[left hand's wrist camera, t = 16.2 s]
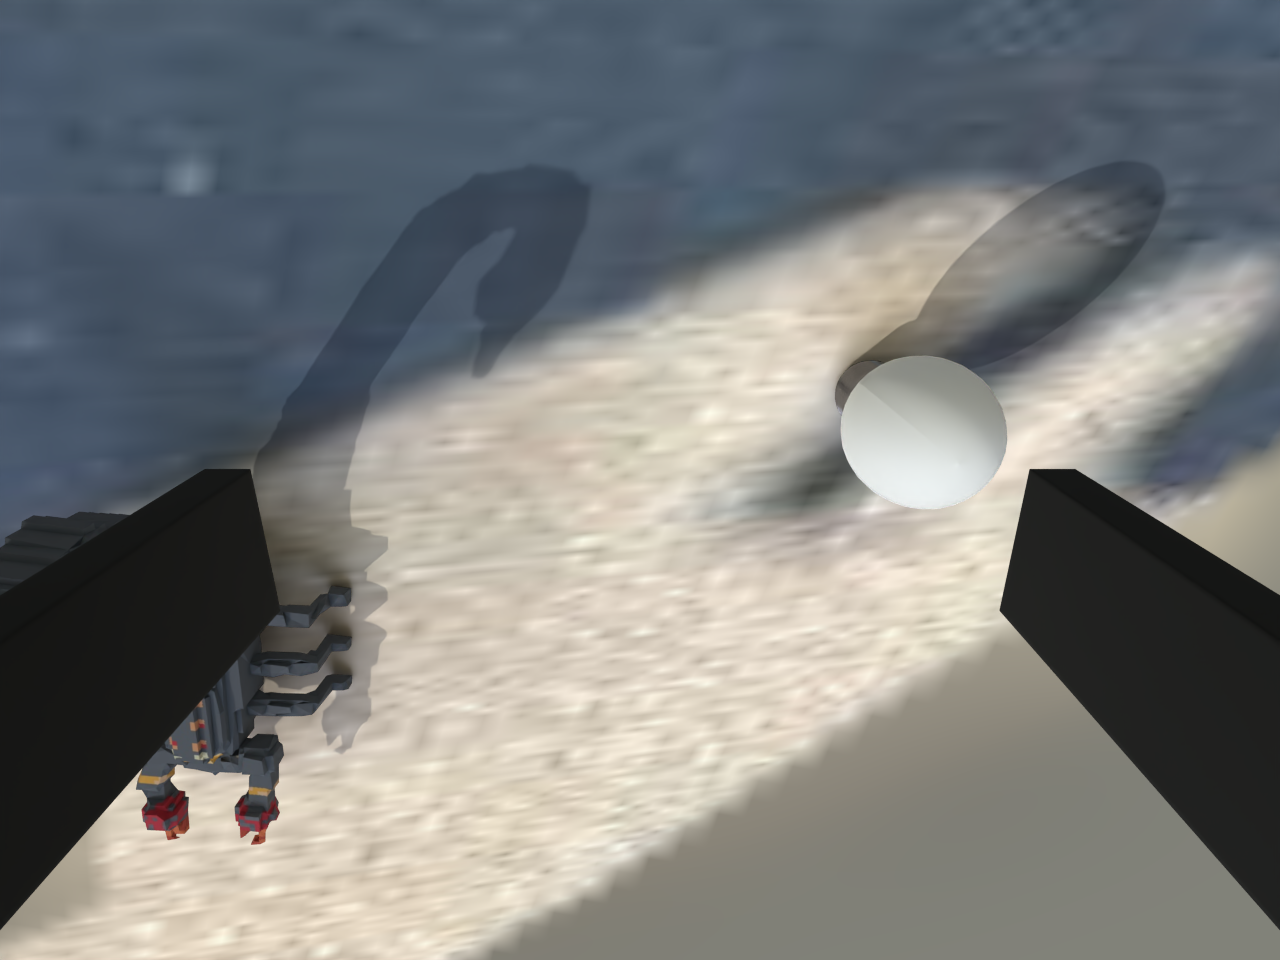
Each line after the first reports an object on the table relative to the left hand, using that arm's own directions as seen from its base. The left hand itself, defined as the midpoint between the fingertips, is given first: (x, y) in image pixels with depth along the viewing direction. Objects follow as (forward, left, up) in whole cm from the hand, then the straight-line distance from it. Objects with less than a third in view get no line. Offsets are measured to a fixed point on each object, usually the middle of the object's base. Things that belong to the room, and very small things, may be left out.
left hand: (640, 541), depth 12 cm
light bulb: (+13, -4, -27) cm, 30 cm away
